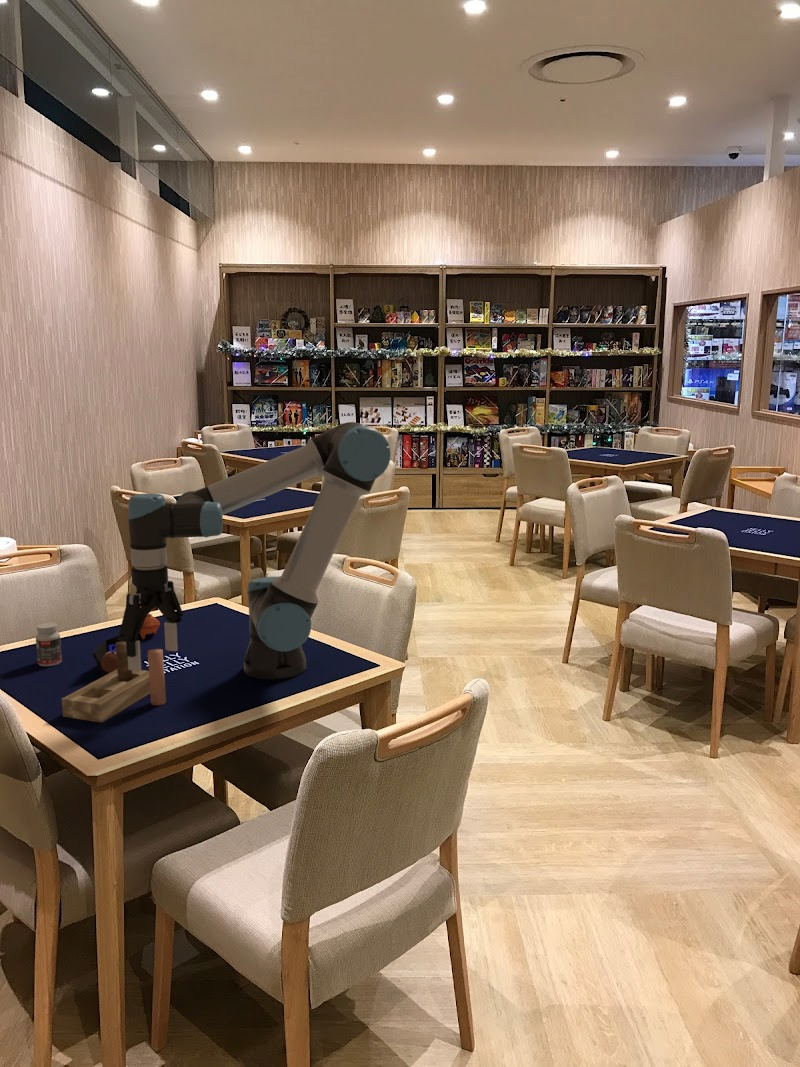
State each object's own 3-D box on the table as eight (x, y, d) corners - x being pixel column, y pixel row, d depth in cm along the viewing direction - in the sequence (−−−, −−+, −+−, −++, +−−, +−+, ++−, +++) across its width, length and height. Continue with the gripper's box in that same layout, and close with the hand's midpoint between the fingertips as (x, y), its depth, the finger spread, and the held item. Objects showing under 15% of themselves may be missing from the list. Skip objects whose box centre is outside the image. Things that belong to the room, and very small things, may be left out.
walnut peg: (136, 692, 196) (133, 642, 194) (127, 697, 193) (124, 646, 191) (124, 690, 197) (121, 640, 195) (116, 695, 195) (112, 645, 192)
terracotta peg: (168, 700, 191) (165, 649, 189) (160, 706, 188) (157, 654, 186) (156, 698, 192) (153, 648, 190) (148, 704, 189) (144, 652, 187)
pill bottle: (42, 668, 212) (38, 630, 210) (34, 662, 216) (31, 624, 214) (65, 663, 215) (62, 625, 213) (58, 657, 220) (54, 620, 218)
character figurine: (137, 660, 218) (119, 682, 204) (109, 658, 218) (88, 680, 203) (137, 631, 217) (119, 651, 202) (108, 629, 216) (88, 649, 202)
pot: (123, 638, 234) (124, 613, 234) (141, 636, 241) (143, 612, 241) (146, 640, 231) (148, 615, 231) (165, 638, 238) (166, 614, 238)
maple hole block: (157, 688, 198) (156, 672, 198) (101, 722, 180) (100, 704, 179) (121, 683, 202) (120, 667, 201) (63, 716, 183) (61, 698, 182)
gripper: (168, 552, 197) (171, 640, 201) (96, 577, 174) (102, 676, 178) (196, 555, 195) (199, 644, 199) (128, 581, 171) (133, 681, 176)
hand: (153, 660), depth 188 cm, fingers open, 13 cm apart
